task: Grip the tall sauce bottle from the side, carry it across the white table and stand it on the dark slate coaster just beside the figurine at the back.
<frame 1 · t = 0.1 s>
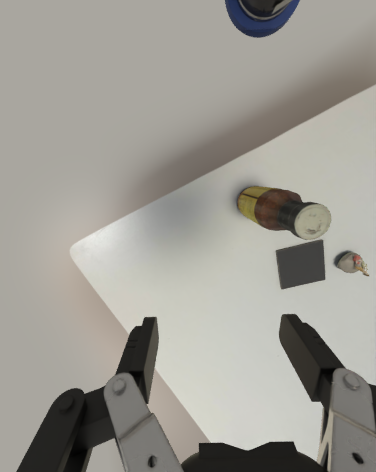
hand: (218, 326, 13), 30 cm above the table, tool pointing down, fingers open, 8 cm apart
slate coaster: (300, 264, 44), on the table
sauce bottle: (251, 200, 40), on the table
figurine: (345, 258, 44), on the table
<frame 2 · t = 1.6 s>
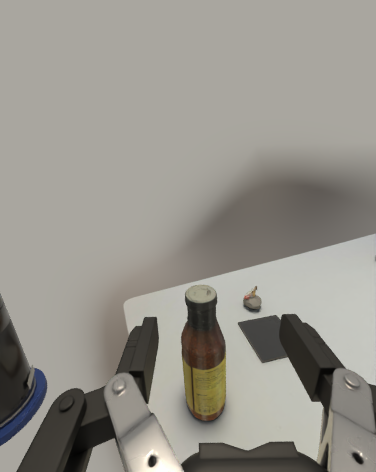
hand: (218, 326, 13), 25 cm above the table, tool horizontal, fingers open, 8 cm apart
slate coaster: (269, 336, 42), on the table
sauce bottle: (204, 400, 31), on the table
figurine: (251, 306, 52), on the table
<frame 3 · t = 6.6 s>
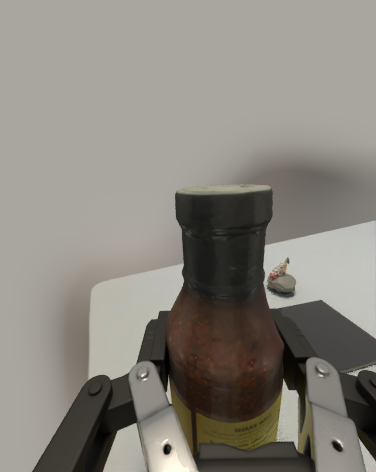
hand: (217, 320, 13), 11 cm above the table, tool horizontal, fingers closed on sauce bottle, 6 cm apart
slate coaster: (321, 332, 25), on the table
sauce bottle: (219, 467, 14), on the table, touching gripper
figurine: (279, 289, 35), on the table
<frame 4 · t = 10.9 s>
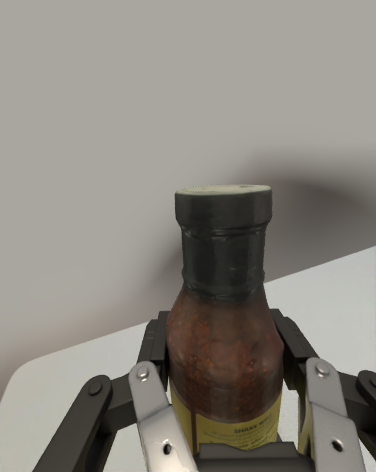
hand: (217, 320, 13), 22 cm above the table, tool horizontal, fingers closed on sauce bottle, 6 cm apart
sauce bottle: (219, 468, 14), point 11 cm above the table, touching gripper
when the fingers open (12 cm above the table, at t = 15.0 s): sauce bottle stays where it is, resting on slate coaster.
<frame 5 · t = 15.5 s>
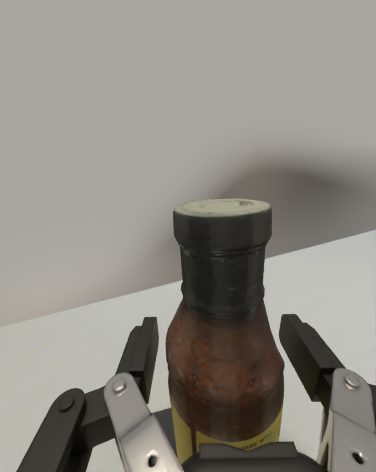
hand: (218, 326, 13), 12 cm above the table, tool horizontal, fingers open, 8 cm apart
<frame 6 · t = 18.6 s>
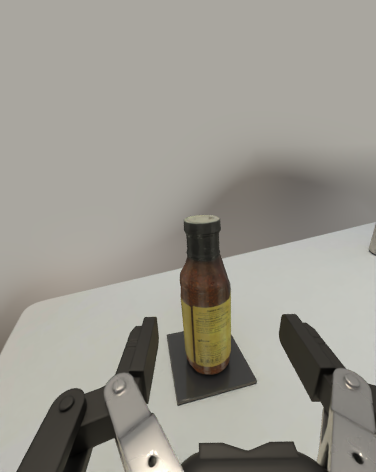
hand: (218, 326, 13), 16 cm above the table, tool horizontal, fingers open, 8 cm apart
slate coaster: (205, 357, 28), on the table
sauce bottle: (206, 356, 28), resting on slate coaster
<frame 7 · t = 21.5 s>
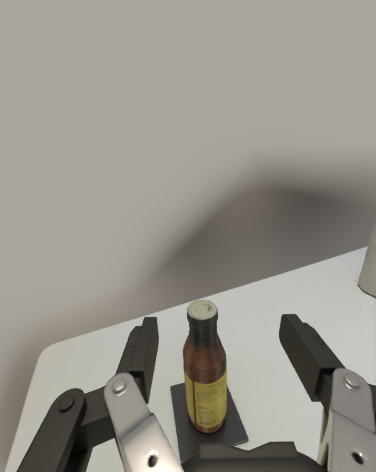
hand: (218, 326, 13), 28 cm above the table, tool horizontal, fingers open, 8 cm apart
slate coaster: (205, 411, 32), on the table
sauce bottle: (205, 411, 32), resting on slate coaster
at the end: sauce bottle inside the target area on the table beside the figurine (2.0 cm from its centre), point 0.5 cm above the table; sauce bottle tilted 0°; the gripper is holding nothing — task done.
